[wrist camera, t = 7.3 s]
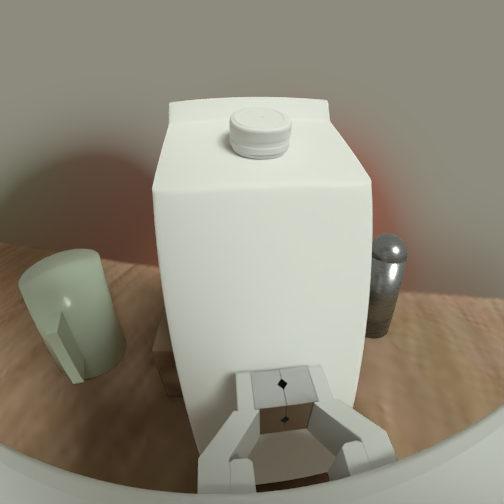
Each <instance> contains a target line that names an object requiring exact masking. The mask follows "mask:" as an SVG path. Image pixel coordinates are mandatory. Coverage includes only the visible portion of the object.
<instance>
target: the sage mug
mask: <svg viewBox="0 0 504 504" xmlns="http://www.w3.org/2000/svg"><path fill="white" fill-rule="evenodd" d="M19 288H20V291H21V293H22V296H23V298H24V301H25V303H26V305H27V308H28V310H29V312H30V314H31V317H32V319H33V321H34V323H35V325H36V327H37V329H38V331H39V333H40V335H41V337H42V339H43V341H44V343H45V345H46V347H47V349H48V350H49V352H50V354H51V356H52V358H53V359H54V361H55V363H56V365H57V366H58V368H59V369H60V371H61V372H62V373H63V374H65V375H66V376H69V378H70V380H71V381H72V383H73V384H75V383H81V382H84V379H90V378H94V377H97V376H100V375H102V374H104V373H106V372H107V371H109V370H110V369H112V368H113V367H114V366H115V365H116V364H117V363H118V362H119V361H120V360H121V358H122V357H123V355H124V352H125V349H126V340H125V337H124V334H123V332H122V329H121V326H120V323H119V320H118V317H117V315H116V312H115V309H114V305H113V302H112V299H111V296H110V293H109V289H108V286H107V282H106V279H105V275H104V272H103V268H102V264H101V260H100V257H99V254H98V253H97V252H96V251H93V250H90V249H73V250H67V251H63V252H59V253H56V254H53V255H51V256H48V257H46V258H44V259H42V260H40V261H38V262H37V263H35V264H34V265H32V266H31V267H30V268H28V269H27V270H26V271H25V272H24V273H23V275H22V276H21V278H20V280H19Z"/></svg>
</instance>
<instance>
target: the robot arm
mask: <svg viewBox="0 0 504 504" xmlns="http://www.w3.org/2000/svg"><path fill="white" fill-rule="evenodd" d="M236 393H237V409H238V411H233V412H232V414H231V415H230V417H229V418H228V419H227V421H226V422H225V423H224V425H223V426H222V428H221V429H220V430H219V432H218V433H217V434H216V436H215V437H214V438H213V440H212V441H211V442H210V444H209V445H208V446H207V448H206V449H205V450H204V452H203V453H202V454H201V456H200V457H199V458H198V494H189V493H175V492H164V491H156V490H148V489H141V488H135V487H129V486H124V485H119V484H114V483H110V482H105V481H101V480H97V479H93V478H89V477H86V476H82V475H79V474H76V473H72V472H69V471H66V470H63V469H60V468H58V467H55V466H52V465H49V464H47V463H44V462H42V461H39V460H37V459H34V458H32V457H29V456H27V455H25V454H23V453H21V452H18V451H16V450H14V449H12V448H10V447H8V446H6V445H4V444H2V443H1V442H0V504H504V403H503V404H502V405H500V406H499V407H498V408H496V409H495V410H493V411H492V412H490V413H489V414H487V415H486V416H484V417H483V418H481V419H480V420H478V421H476V422H475V423H473V424H471V425H470V426H468V427H466V428H465V429H463V430H461V431H459V432H458V433H456V434H454V435H452V436H450V437H448V438H447V439H445V440H443V441H441V442H439V443H437V444H435V445H433V446H430V447H428V448H426V449H424V450H422V451H420V452H417V453H415V454H413V455H410V456H408V457H405V458H403V459H400V460H398V459H397V457H396V454H395V452H394V449H393V447H392V445H391V442H390V440H389V438H388V435H387V433H386V431H385V430H383V429H382V428H380V427H379V426H377V425H376V424H374V423H373V422H371V421H370V420H368V419H367V418H365V417H364V416H362V415H361V414H359V413H358V412H357V411H355V410H354V409H352V408H351V407H349V406H348V405H347V404H345V403H344V402H342V401H341V400H340V399H338V398H336V399H334V398H333V395H332V392H331V390H330V387H329V384H328V381H327V379H326V376H325V373H324V371H323V368H322V366H321V365H320V364H319V365H313V366H304V367H297V368H289V369H281V370H275V371H261V372H251V373H250V372H244V373H236ZM300 429H307V430H308V431H309V432H310V433H311V434H312V435H313V436H314V437H315V438H316V439H317V440H318V441H319V442H320V443H321V444H322V445H323V446H324V447H326V448H327V449H328V450H329V451H330V452H331V453H332V454H333V455H334V456H335V457H336V459H335V460H334V462H333V463H332V465H331V467H330V468H329V470H328V471H327V472H328V476H329V480H330V481H329V482H325V483H320V484H315V485H310V486H304V487H299V488H292V489H285V490H278V491H269V492H258V493H256V486H255V478H254V470H253V462H252V461H251V460H249V459H248V456H249V454H250V453H251V451H252V449H253V447H254V446H255V444H256V442H257V440H258V438H259V436H260V434H268V433H276V432H283V430H284V431H292V430H300Z"/></svg>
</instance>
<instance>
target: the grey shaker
mask: <svg viewBox="0 0 504 504" xmlns="http://www.w3.org/2000/svg"><path fill="white" fill-rule="evenodd" d="M407 255H408V253H407V247H406V245H405V243H404V242H403V240H402V239H401V238H400V237H398V236H397V235H394V234H389V233H386V234H382V235H380V236H378V237H377V238H375V239H374V240H373V242H372V261H371V279H370V293H369V305H368V315H367V324H366V333H365V337H368V338H380V337H383V336H385V335H386V334H387V332H388V329H389V326H390V323H391V319H392V316H393V313H394V309H395V306H396V302H397V299H398V295H399V291H400V287H401V283H402V279H403V274H404V271H405V266H406V262H407Z"/></svg>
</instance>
